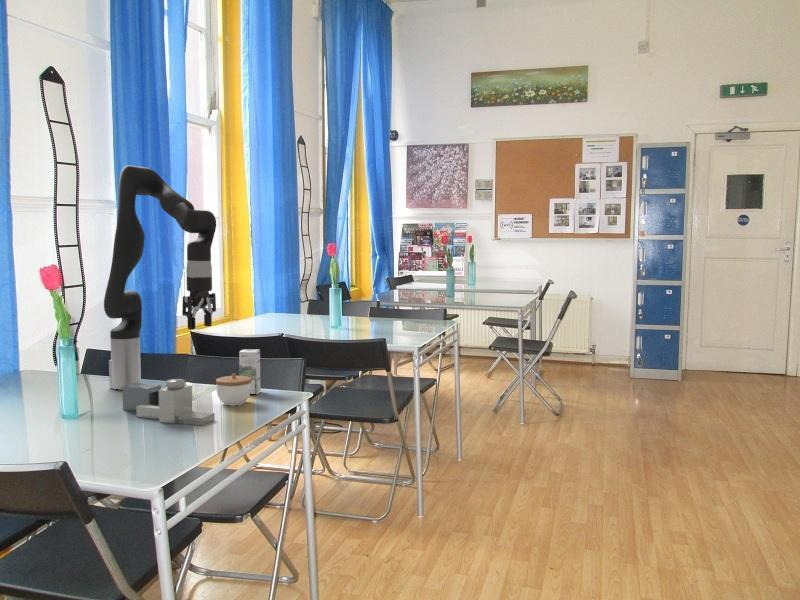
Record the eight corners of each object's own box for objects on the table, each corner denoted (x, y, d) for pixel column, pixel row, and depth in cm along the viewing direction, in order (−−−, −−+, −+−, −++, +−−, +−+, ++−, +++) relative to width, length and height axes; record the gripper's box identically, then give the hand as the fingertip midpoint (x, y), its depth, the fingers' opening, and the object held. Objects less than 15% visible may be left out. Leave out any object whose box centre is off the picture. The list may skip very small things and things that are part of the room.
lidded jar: (211, 407, 203) (211, 376, 202) (222, 399, 214) (221, 370, 213) (247, 407, 203) (246, 377, 202) (255, 399, 213) (255, 370, 213)
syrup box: (261, 391, 225) (260, 348, 224) (256, 395, 219) (256, 351, 218) (244, 391, 225) (243, 348, 224) (239, 395, 219) (238, 351, 218)
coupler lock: (120, 409, 200) (120, 386, 200) (135, 405, 206) (134, 382, 205) (147, 412, 197) (147, 388, 196) (161, 407, 203) (161, 384, 202)
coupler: (129, 419, 189) (128, 380, 188) (149, 412, 197) (148, 375, 196) (199, 426, 182) (198, 386, 181) (216, 419, 189) (215, 380, 188)
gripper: (202, 274, 215) (202, 324, 217) (174, 276, 202) (175, 330, 203) (222, 274, 213) (223, 325, 215) (196, 276, 200) (196, 331, 201)
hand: (199, 327), depth 209 cm, fingers open, 8 cm apart
